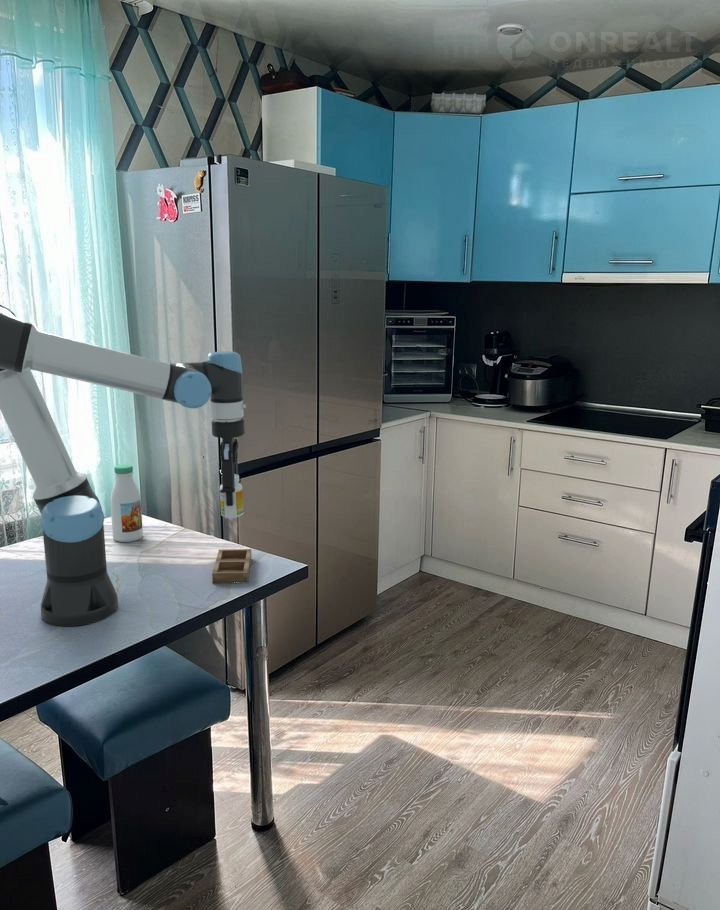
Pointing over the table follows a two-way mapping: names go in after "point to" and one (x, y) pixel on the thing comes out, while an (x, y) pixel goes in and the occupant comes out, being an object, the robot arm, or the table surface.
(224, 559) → the compartment tray
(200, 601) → the table surface
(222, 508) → the supplement bottle
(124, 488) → the milk bottle
